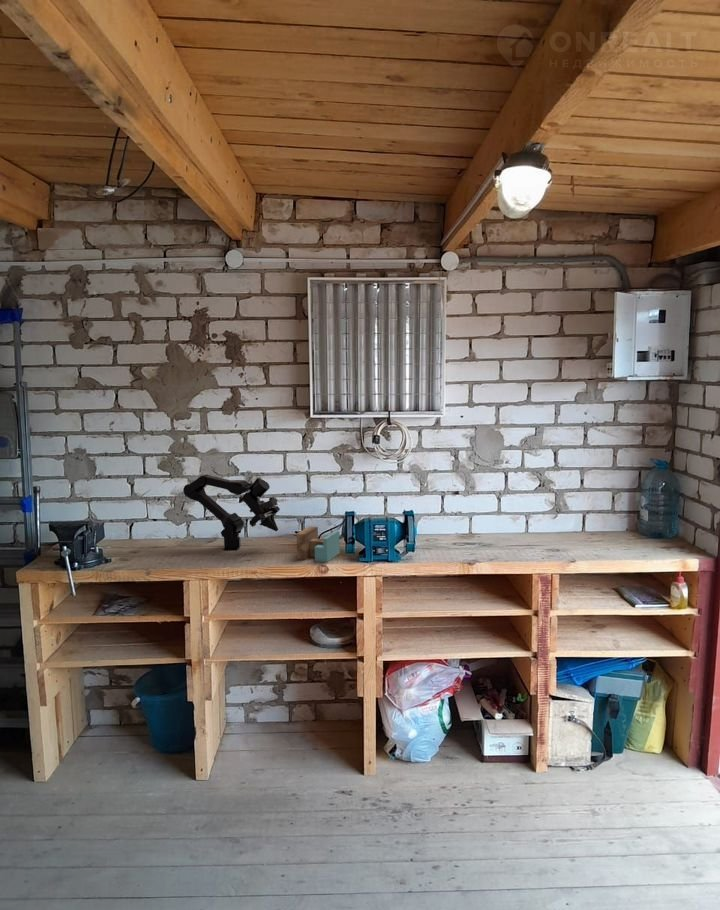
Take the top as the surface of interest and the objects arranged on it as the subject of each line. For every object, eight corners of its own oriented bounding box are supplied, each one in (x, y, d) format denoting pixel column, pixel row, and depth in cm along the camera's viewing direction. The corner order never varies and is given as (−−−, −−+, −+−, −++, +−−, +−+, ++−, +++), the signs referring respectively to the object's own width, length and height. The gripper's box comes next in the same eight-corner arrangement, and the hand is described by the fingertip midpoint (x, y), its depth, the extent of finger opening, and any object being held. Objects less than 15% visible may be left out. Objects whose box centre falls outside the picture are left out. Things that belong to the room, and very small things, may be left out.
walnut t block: (297, 559, 268) (296, 533, 266) (310, 550, 280) (309, 526, 278) (323, 561, 264) (322, 535, 262) (335, 552, 276) (334, 528, 274)
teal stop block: (314, 561, 264) (314, 537, 263) (328, 551, 277) (327, 529, 276) (327, 562, 262) (326, 538, 261) (339, 552, 276) (339, 530, 274)
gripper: (255, 496, 267) (279, 524, 265) (275, 488, 285) (298, 514, 283) (239, 512, 271) (262, 540, 269) (260, 503, 288) (282, 529, 286)
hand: (277, 530), depth 277 cm, fingers closed
